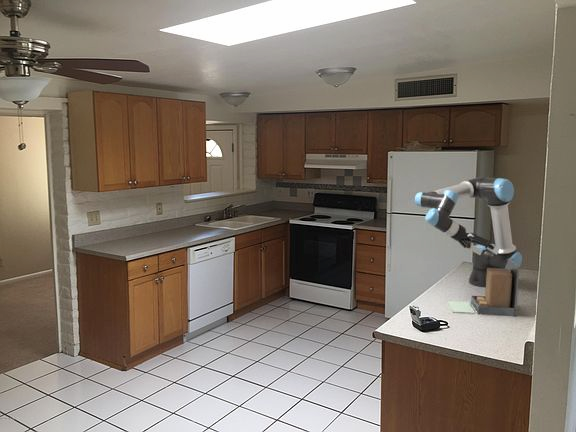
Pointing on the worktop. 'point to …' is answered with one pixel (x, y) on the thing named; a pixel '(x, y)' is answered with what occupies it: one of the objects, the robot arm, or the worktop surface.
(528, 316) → the worktop surface
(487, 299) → the wooden block
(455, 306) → the mat
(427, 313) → the worktop surface
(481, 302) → the upper offcut
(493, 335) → the worktop surface
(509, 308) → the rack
